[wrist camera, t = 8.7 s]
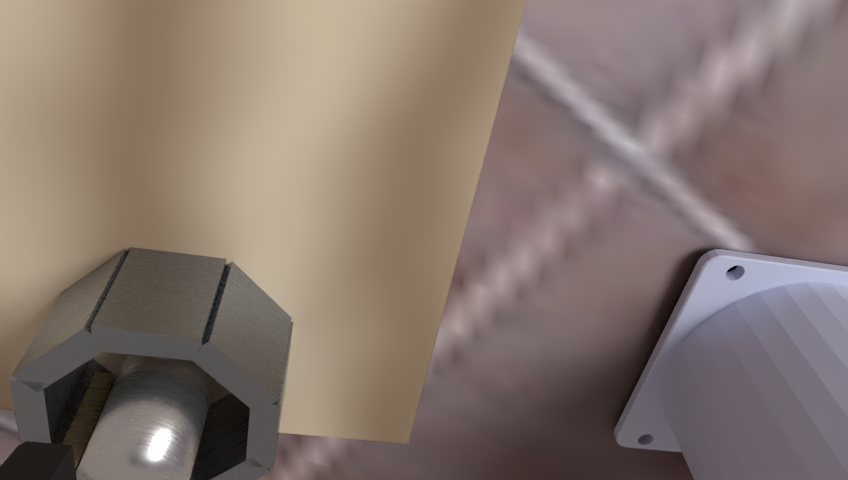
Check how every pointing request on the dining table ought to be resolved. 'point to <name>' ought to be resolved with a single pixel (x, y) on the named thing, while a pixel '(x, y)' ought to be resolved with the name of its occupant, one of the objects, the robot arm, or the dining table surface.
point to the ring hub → (165, 351)
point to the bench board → (256, 170)
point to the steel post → (141, 421)
